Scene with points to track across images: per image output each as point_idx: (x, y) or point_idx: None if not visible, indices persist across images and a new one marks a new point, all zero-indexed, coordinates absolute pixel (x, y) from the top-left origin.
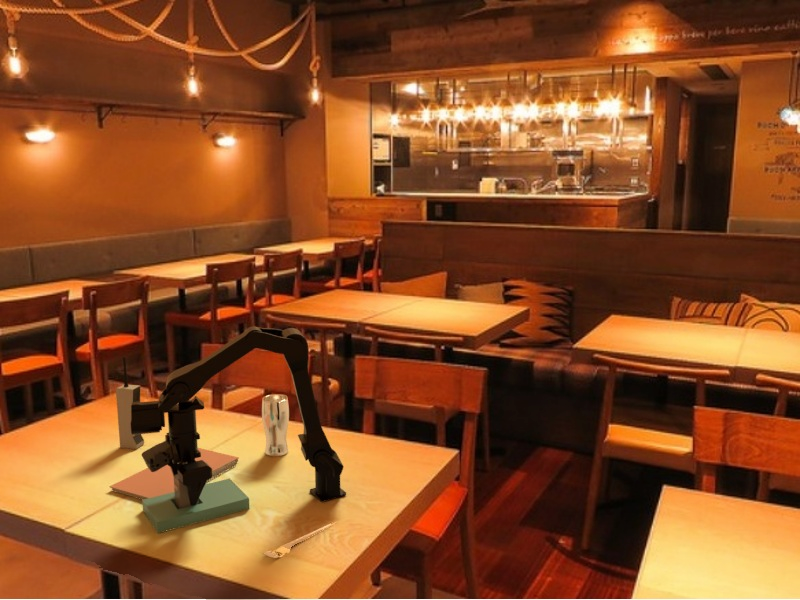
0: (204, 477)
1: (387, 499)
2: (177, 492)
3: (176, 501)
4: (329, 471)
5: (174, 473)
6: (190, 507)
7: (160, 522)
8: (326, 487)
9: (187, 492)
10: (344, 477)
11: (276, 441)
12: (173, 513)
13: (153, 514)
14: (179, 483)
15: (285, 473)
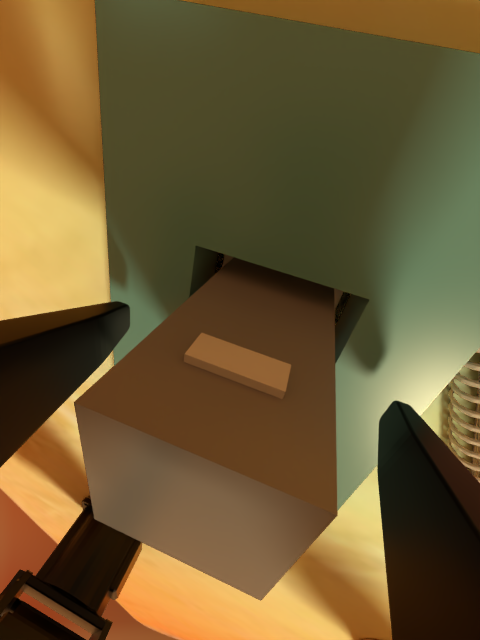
0: None
1: (51, 522)
2: (237, 333)
3: (299, 303)
4: (5, 590)
5: (477, 554)
6: (173, 307)
7: (103, 30)
8: (68, 536)
9: (25, 334)
10: (159, 568)
11: None
12: (160, 189)
13: (248, 32)
14: (95, 389)
15: None
